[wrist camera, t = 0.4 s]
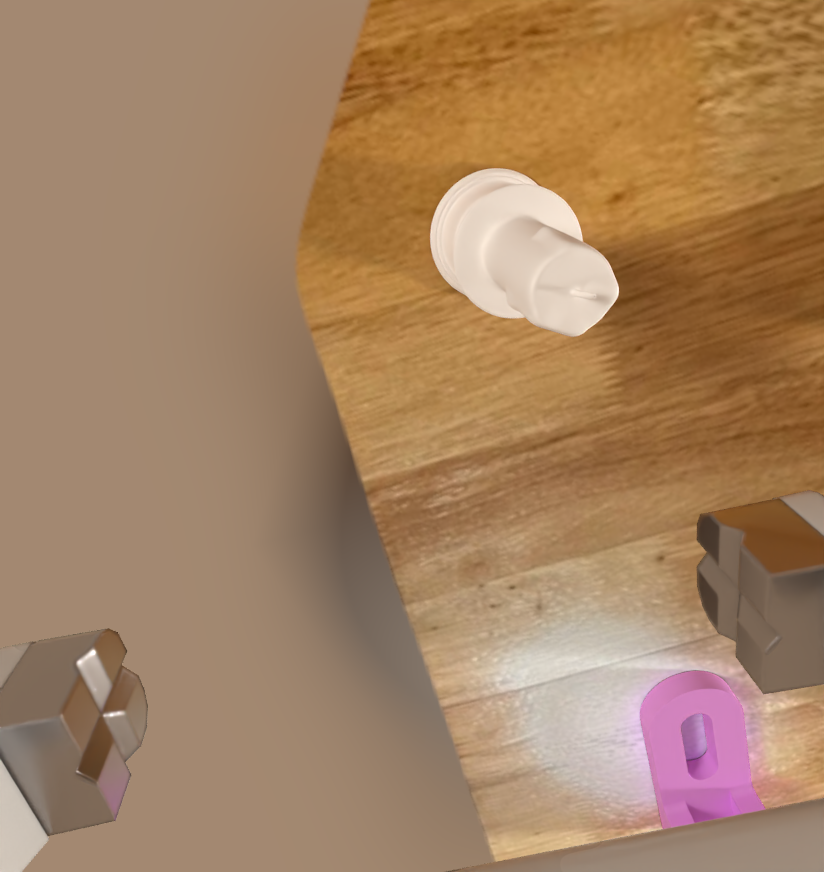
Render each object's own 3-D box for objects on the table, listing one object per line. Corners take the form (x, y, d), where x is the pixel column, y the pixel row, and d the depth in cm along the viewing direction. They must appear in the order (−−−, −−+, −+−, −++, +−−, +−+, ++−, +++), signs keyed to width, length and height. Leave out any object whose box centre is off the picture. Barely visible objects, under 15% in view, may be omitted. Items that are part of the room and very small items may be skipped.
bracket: (745, 805, 45) (810, 916, 38) (662, 828, 45) (714, 942, 39) (726, 660, 39) (799, 760, 33) (633, 686, 40) (687, 791, 33)
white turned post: (560, 167, 28) (695, 186, 17) (550, 297, 30) (664, 389, 19) (430, 168, 28) (482, 189, 17) (429, 300, 30) (475, 396, 19)
